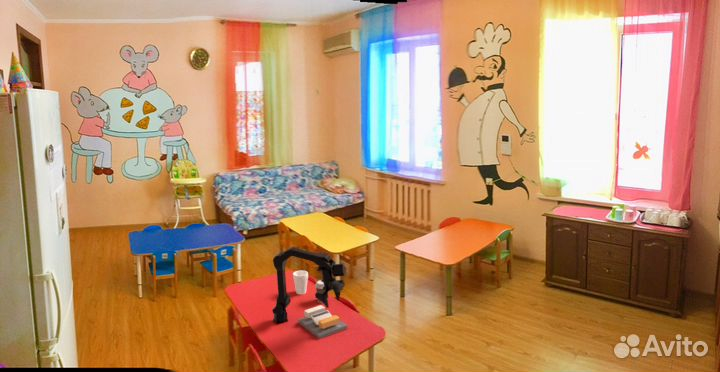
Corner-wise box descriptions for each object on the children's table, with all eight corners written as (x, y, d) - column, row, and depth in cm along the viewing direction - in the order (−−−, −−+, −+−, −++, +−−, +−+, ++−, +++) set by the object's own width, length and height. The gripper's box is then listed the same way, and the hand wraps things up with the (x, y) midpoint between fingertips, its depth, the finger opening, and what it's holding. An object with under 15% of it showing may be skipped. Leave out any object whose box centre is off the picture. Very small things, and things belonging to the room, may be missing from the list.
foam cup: (296, 296, 307) (295, 277, 305) (291, 291, 316) (290, 272, 313) (310, 293, 312) (310, 274, 309) (305, 288, 320) (304, 269, 317)
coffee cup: (325, 295, 309) (324, 277, 306) (333, 301, 301) (332, 282, 299) (312, 299, 303) (312, 281, 301) (320, 305, 296) (320, 286, 294)
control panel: (319, 339, 257) (318, 331, 256) (298, 322, 275) (298, 315, 274) (347, 328, 268) (347, 321, 267) (325, 313, 285) (325, 307, 284)
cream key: (308, 318, 272) (308, 313, 271) (304, 315, 275) (304, 310, 274) (325, 312, 278) (324, 307, 278) (321, 309, 281) (321, 305, 281)
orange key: (322, 328, 260) (322, 323, 260) (318, 325, 263) (318, 320, 263) (339, 322, 266) (339, 317, 266) (335, 320, 270) (335, 314, 269)
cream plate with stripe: (316, 325, 265) (317, 324, 264) (310, 316, 270) (310, 315, 269) (333, 319, 271) (334, 318, 271) (327, 311, 276) (327, 309, 275)
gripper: (327, 285, 252) (333, 313, 255) (349, 271, 267) (355, 298, 269) (311, 283, 259) (317, 310, 262) (334, 270, 274) (339, 296, 276)
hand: (333, 303), depth 267 cm, fingers open, 9 cm apart
